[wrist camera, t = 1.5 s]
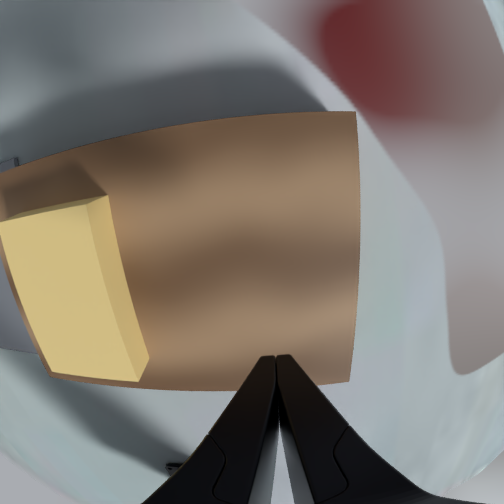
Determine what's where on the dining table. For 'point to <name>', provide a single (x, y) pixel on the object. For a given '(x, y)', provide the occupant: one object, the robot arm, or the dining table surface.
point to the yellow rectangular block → (75, 289)
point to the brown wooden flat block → (222, 241)
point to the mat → (11, 305)
